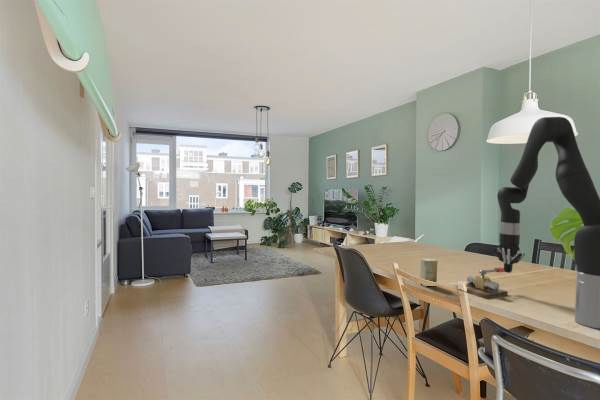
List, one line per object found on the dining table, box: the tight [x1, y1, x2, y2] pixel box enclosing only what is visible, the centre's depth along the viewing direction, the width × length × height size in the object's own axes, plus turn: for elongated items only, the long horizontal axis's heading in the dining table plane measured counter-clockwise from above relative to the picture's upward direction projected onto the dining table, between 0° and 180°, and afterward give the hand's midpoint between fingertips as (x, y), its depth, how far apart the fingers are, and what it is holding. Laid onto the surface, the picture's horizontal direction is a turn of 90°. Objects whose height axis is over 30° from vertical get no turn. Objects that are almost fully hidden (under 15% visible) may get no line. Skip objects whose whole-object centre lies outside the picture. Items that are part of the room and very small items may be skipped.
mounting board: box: [465, 284, 509, 299], centre depth 146 cm, size 14×14×2 cm
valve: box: [466, 274, 500, 294], centre depth 145 cm, size 13×4×7 cm, turn 24°
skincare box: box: [419, 258, 438, 288], centre depth 155 cm, size 6×4×12 cm
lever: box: [478, 266, 506, 275], centre depth 147 cm, size 14×3×2 cm, turn 114°
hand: (507, 272), depth 146 cm, fingers closed
